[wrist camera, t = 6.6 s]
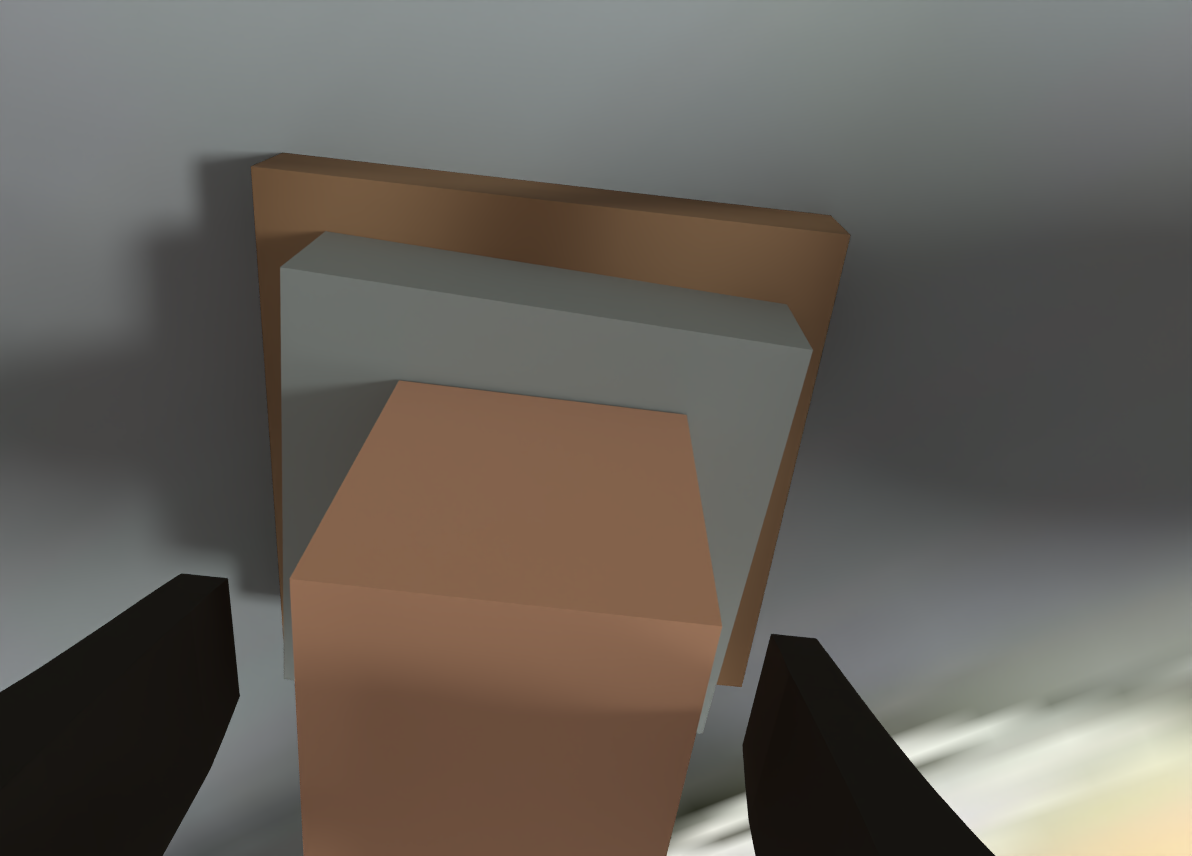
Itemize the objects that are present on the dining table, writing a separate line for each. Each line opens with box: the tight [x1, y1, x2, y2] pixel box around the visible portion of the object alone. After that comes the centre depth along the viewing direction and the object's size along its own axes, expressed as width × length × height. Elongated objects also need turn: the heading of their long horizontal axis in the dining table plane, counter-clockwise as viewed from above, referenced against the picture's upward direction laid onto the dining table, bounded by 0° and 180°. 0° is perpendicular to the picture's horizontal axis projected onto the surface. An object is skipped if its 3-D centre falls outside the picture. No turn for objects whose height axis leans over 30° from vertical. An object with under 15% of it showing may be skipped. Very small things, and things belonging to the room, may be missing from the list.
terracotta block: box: [290, 380, 722, 856], centre depth 12 cm, size 4×4×5 cm
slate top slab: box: [280, 231, 813, 734], centre depth 15 cm, size 8×8×2 cm
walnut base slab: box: [251, 153, 850, 687], centre depth 17 cm, size 10×10×2 cm
